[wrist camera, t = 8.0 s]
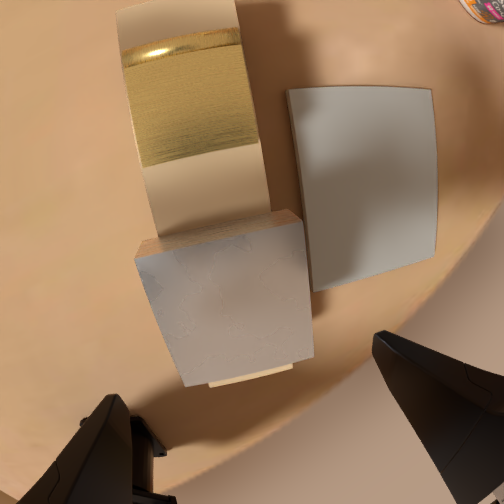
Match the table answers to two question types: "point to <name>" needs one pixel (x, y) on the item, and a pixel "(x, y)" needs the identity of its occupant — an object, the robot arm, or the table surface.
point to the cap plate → (231, 296)
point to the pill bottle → (485, 10)
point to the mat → (365, 179)
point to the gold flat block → (189, 95)
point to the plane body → (204, 165)
